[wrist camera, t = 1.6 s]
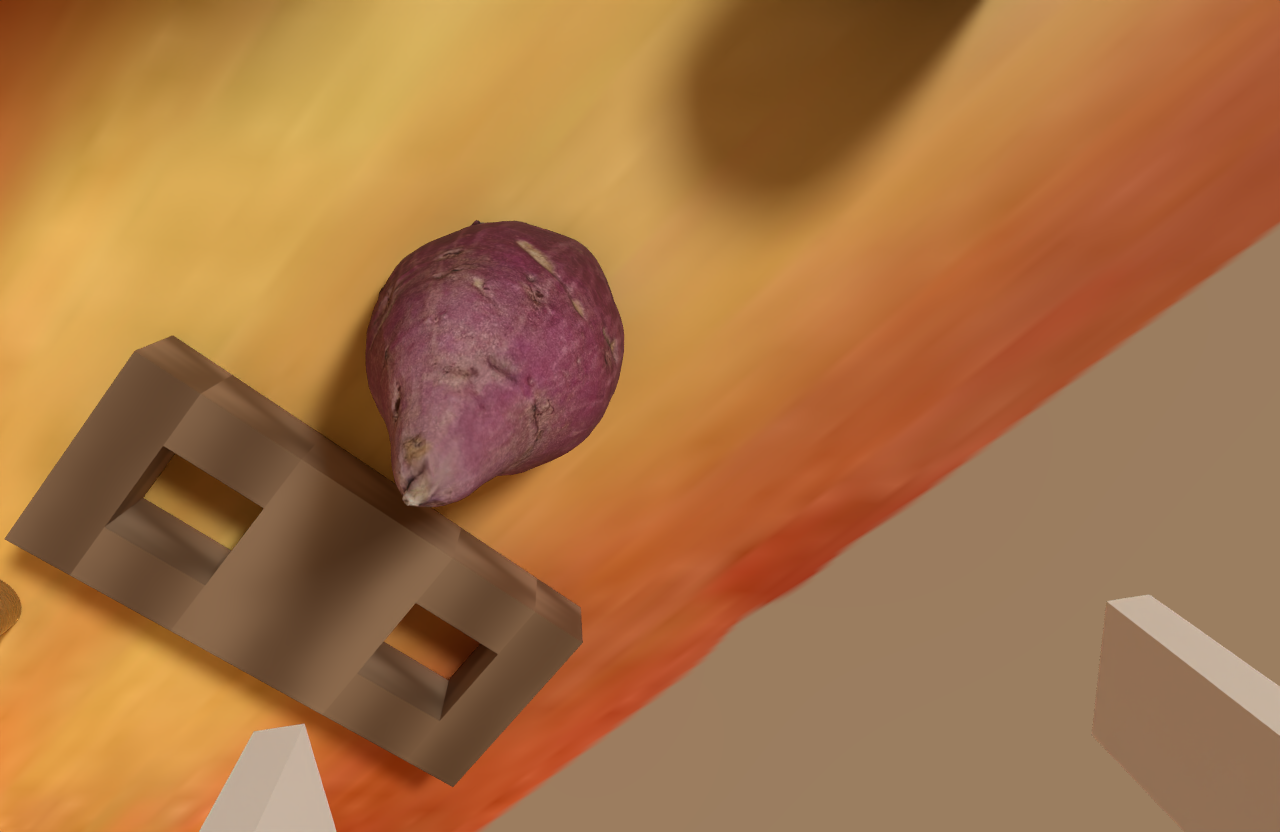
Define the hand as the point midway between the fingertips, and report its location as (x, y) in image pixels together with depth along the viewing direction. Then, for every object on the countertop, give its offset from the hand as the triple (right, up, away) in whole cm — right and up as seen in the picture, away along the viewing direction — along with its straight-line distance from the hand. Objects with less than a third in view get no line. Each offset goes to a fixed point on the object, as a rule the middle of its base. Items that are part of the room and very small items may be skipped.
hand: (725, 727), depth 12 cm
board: (-16, -2, +23) cm, 28 cm away
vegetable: (-7, +9, +21) cm, 24 cm away
